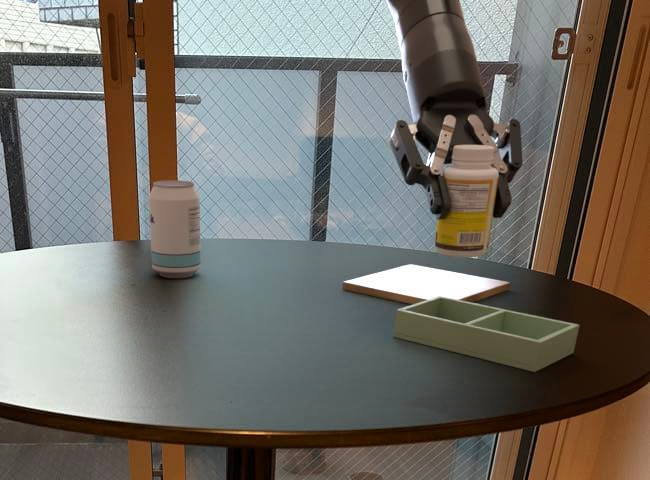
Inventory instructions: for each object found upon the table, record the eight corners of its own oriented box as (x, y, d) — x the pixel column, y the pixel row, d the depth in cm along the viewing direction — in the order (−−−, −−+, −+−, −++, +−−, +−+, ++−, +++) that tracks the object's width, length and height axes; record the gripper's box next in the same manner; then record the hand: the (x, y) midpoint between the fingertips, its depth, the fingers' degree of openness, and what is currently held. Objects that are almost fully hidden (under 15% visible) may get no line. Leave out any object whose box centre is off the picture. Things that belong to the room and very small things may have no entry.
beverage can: (156, 268, 118) (152, 179, 112) (203, 269, 117) (201, 180, 111) (148, 279, 112) (144, 186, 106) (198, 280, 111) (196, 186, 105)
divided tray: (435, 321, 94) (439, 295, 93) (573, 353, 84) (579, 324, 83) (393, 336, 89) (396, 309, 87) (534, 372, 79) (540, 342, 77)
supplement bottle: (453, 246, 88) (467, 142, 83) (497, 253, 85) (514, 146, 80) (422, 252, 85) (434, 146, 80) (466, 261, 82) (482, 150, 76)
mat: (409, 271, 118) (410, 264, 117) (509, 289, 108) (510, 282, 108) (342, 289, 108) (342, 281, 107) (445, 311, 98) (446, 303, 98)
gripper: (387, 46, 80) (419, 191, 77) (520, 46, 83) (557, 187, 79) (366, 103, 88) (394, 239, 84) (489, 102, 90) (521, 234, 86)
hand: (473, 213), depth 81 cm, fingers closed on supplement bottle, 5 cm apart
